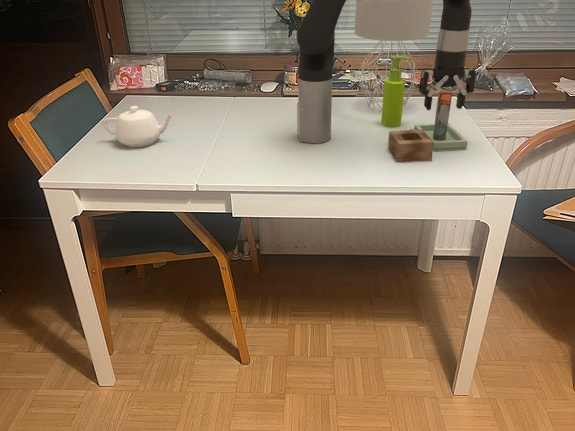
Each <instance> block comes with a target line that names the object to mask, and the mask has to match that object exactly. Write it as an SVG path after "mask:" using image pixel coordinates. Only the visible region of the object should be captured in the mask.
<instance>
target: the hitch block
mask: <svg viewBox="0 0 575 431" xmlns="http://www.w3.org/2000/svg"><path fill="white" fill-rule="evenodd" d="M433 145H434V142H433V141H432V140H431V138H430V137H429V136H428V135H427V134H426V133H425V132H424V131H423V130H414V129H409V130H408V129H406V130H405V129H404V130H389V133H388V144H387V150H388V151H389V152H390V154H391V155H392V158H394V160H395V161H396V162H397V163H405V162H406V163H411V162H427V161H433V160H432V158H433V153H434V152H433Z"/></svg>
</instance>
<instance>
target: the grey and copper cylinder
mask: <svg viewBox="0 0 575 431" xmlns="http://www.w3.org/2000/svg"><path fill="white" fill-rule="evenodd" d="M452 97H453V92H452V91H451V90H439V91H438V96H437V101H436V108H435V109H436V110H435V118H434V123H433V124H434V131H433V139H434V140H438V141H443V140H445V139H446V133H447V126H448V123H449V118H450V111H451V105H452Z"/></svg>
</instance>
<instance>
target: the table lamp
mask: <svg viewBox="0 0 575 431" xmlns="http://www.w3.org/2000/svg"><path fill="white" fill-rule="evenodd" d="M433 3H434V0H355V14H354V15H355V19H354V35H355V36H357V37H360V38H363V39H368V40H374V41H378V42H377V43H376V45H375V46H374V47H373V48H372V50H370V52H369V53H368V55H367V56H366V58H365V59H364V60H363V61H362V63H361V66H360V68H359V70H358V73H357V81H358V82H359V86H360V88H361V91H362V94H363V96H364V98H365V101H366V104H367V107H368V108H369V109H370V108H371V104H372V105H373V108H372V109H373V111H375V110H377V112H380V111H382V107H381V106H380V104H379V103H378V102H380V99H379V96H377V100H376V99H375V98H374V97H375V95H376V94H379V92H381V93H382V95H383V93H384V91H382V90H384V87H383V88H380V86H379V84H380V83H381V82H382V81H383V80H384V81H385V79H388V78H389V73H390V71H389V72H388V73H387V70H388V64H389V65H390V67H393V63H392V56H393V42H394V45H395V51H396V56H399V54H398V49H397V44H398V48H399V50H400V53H401V54H402V55H401V56H407V55H406V54H408V57H410V58H411V60H410V61H411V62H412V64H411V63H410V61H408V60H403V65H404V66H406V63H407V64H408V65H409V69H410V72H411V74H410V73H409V72H407V71H406V70H405V69H404V68H403V69H402V72H404V74H403V78H402V79H403V80H405V76H406V74H407V75H408V76H409V77H411V78H410V79H408V80H407V81H405V84H406V83H408V82H410V81H411V84H410V86H409V88H407V89H406V90H404V94H405V93H406V94H405V95H404V98H403V108H404V107H405V106H406V104H407V102H408V100H409V99H410V97H411V95H412V94H413V93H414V90H415V88H416V87H417V85H418V84H419V82H420V78H419V77H420V76H417V82H416V83H415V81H416V76H415V71H416V73H417V75H419V72H418V68H417V65H416V62H415V61H414V59H413V57H412V56H411V54H410V52H409V50H408V49H407V48H406V45H405V44H404V41H405V42H406V41H414V40H422V39H425V38H427V37H428V36H430V28H431V22H432V21H431V20H432V12H433ZM382 41H383V44H382V45H381V43H382ZM387 41H388V44H389V45H388V50H387V51H388V52H387V59H386V60H385V59H384V58H383V57H381V54H382V51H383V49H384V47H385V44H386V42H387ZM396 42H397V44H396ZM380 45H381V46H382V47H381V48H380V50H379V53H378V55H377V57H376V58H374V59H372V61H371V62H369V61H370V59H371V58H372V56H373V54H374V53H375V52H376V51H377V49H378V47H379V46H380ZM390 47H391V50H390ZM390 51H391V52H390ZM405 52H406V53H405ZM390 54H391V55H390ZM389 56H390V62H388V61H389ZM379 58H380V59H381V60H384V62H386V68H385V75H384V76H383V75H382V74H381V73H380V71H379V70H378V63H379V60H380V59H379ZM366 59H367V60H366ZM368 62H369V63H368ZM405 62H406V63H405ZM372 63H374V64H373V66H372V67H370V68H369V69H367V70H366V67H369V65H370V64H372ZM375 65H376V66H375ZM399 67H400V68H401V65H400V63H399ZM371 69H372V70H371ZM374 69H375V71H374ZM369 70H371V73H370V76H368V75H366V74H365V73H367V72H368V71H369ZM412 70H413V71H412ZM360 71H361V72H360ZM373 72H375V73H378V74H379V75H380V76H381V79H380V80H379V81H378V78H377V75H375V80H376V81H374V80H373V79H372V75H373ZM359 76H360V77H359ZM362 76H363V77H362ZM387 76H388V77H387ZM361 78H362V79H361ZM366 78H368V79H369V81H368V83H367V80H366ZM361 80H362V82H361ZM364 81H365V84H366V87H365V86H364ZM371 81H372V82H374V84H376V85H375V88H374V90H373V91H374V92H373V94H372V91H371ZM363 88H364V89H363ZM378 88H379V89H378ZM365 90H366V92H367V93H368V95H367V94H366V92H365ZM368 100H369V102H368ZM377 101H378V102H377ZM371 102H373V103H371ZM370 103H371V104H370ZM374 103H376V105H377V106H378V107H379V108H380V110H378V109H376V108H375V104H374Z"/></svg>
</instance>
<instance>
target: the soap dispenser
mask: <svg viewBox="0 0 575 431" xmlns="http://www.w3.org/2000/svg"><path fill="white" fill-rule="evenodd" d="M392 60H393V63H392V64H393V65H392V66H390V67H389V72H390V73H389V72H388V73H389V74H388V77H389V78H388V77H387V78H388V79H385V78H384V79H385V80H384V82H383V83H384V84H383V88H384V89H383V94H382V105H381V106H382V107H381V108H382V110H381V111H382V112H381V120H380V123H381V125H382V126H384V127H387V128H396V127H399V126H401V125H402V118H403V117H402V115H403V108H404V107H403V106H404V105H403V103H404V102H403V100H404V98H405V93H404V92H405V86H406V83H405V82H406V80H405V79H404V80H403V78H402V72H403V70H402V67H401V66H400V67H399V64H400V61H402V60H403V61H406V60H408V61H409V62H410V61H412V60H411V58H410V56H407V55H406V56H405V55H398V56H397V55H392Z"/></svg>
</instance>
